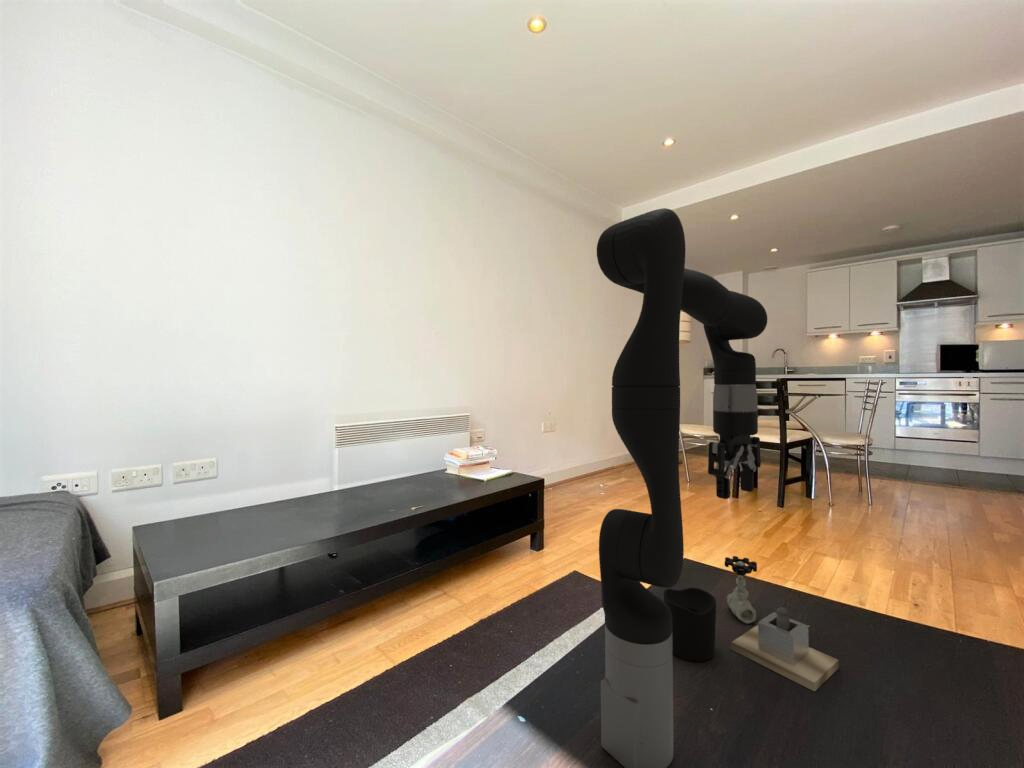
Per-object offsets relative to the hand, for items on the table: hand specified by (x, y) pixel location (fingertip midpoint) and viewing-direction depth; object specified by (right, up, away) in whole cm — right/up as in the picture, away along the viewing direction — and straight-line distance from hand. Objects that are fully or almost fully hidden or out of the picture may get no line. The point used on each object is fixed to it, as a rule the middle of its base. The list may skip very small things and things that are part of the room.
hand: (735, 494), depth 83 cm
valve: (+8, -30, +13) cm, 34 cm away
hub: (+8, -29, -2) cm, 30 cm away
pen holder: (-8, -31, +2) cm, 32 cm away
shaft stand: (+8, -30, -2) cm, 31 cm away
